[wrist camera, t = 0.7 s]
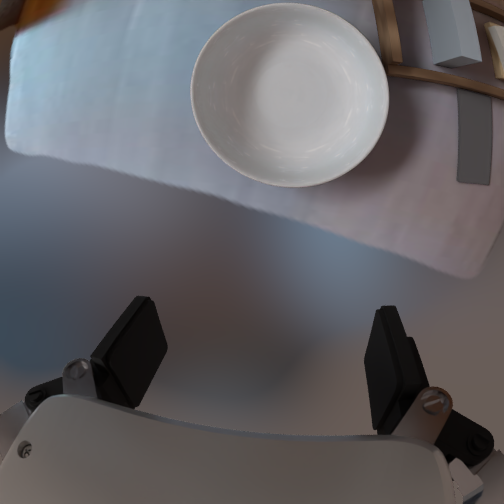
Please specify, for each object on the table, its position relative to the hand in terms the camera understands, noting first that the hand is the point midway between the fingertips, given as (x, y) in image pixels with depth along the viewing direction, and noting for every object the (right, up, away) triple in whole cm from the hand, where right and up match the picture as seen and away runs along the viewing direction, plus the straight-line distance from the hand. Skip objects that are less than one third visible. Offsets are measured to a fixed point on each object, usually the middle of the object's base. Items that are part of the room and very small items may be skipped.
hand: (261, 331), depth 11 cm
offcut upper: (+34, +31, +8) cm, 47 cm away
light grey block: (+24, +32, +12) cm, 42 cm away
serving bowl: (+4, +22, +20) cm, 30 cm away
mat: (+30, +19, +17) cm, 39 cm away
